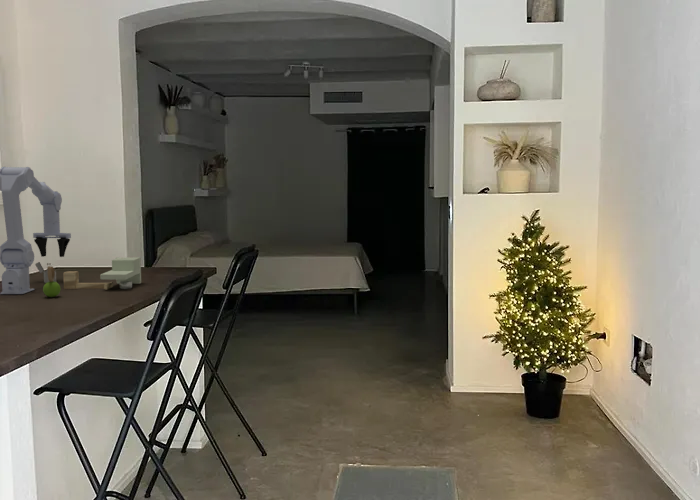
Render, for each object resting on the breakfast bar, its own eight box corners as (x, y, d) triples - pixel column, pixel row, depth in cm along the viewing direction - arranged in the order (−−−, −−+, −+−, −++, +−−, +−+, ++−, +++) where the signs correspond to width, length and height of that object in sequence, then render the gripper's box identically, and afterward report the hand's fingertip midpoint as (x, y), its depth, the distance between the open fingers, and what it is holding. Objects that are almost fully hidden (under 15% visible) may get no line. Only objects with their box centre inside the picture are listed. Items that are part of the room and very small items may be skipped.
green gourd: (41, 299, 211) (39, 263, 210) (44, 296, 217) (43, 261, 216) (58, 298, 213) (57, 263, 211) (62, 295, 219) (60, 260, 218)
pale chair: (126, 291, 229) (125, 263, 228) (100, 291, 228) (100, 263, 228) (141, 282, 248) (140, 257, 247) (117, 282, 248) (117, 257, 247)
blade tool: (106, 289, 232) (106, 273, 231) (62, 289, 231) (61, 273, 231) (113, 286, 239) (112, 270, 238) (69, 286, 238) (69, 270, 238)
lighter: (56, 281, 249) (55, 261, 249) (55, 282, 248) (54, 262, 247) (37, 282, 248) (36, 261, 247) (35, 282, 246) (34, 262, 246)
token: (130, 289, 234) (130, 282, 234) (118, 289, 234) (117, 282, 233) (133, 287, 238) (133, 280, 238) (121, 287, 238) (121, 280, 238)
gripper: (74, 221, 251) (75, 255, 253) (40, 221, 253) (41, 255, 254) (64, 222, 244) (65, 257, 246) (29, 222, 246) (30, 256, 247)
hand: (52, 256), depth 249 cm, fingers open, 7 cm apart
